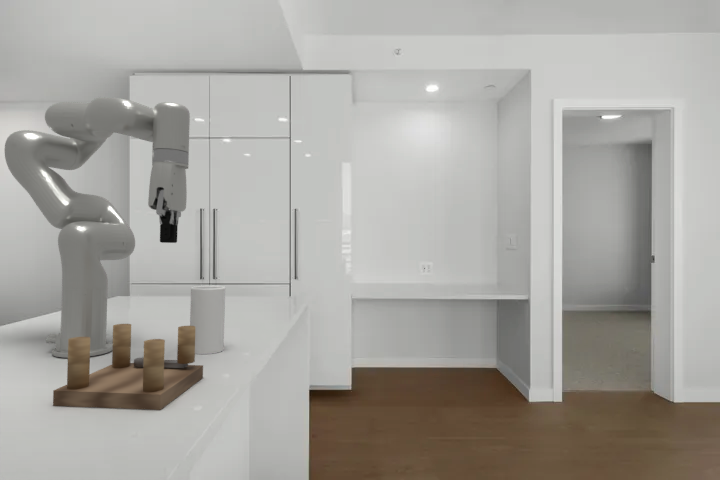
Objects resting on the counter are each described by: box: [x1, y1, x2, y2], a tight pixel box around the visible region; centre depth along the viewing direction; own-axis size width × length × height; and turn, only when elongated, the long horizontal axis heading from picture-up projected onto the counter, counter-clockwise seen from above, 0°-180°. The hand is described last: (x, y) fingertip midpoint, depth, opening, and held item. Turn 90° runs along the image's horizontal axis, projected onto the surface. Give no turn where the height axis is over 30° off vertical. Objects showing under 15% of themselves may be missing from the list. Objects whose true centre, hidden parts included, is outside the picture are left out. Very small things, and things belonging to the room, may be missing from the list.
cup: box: [189, 285, 226, 355], centre depth 116 cm, size 8×8×16 cm
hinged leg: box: [133, 325, 196, 368], centre depth 91 cm, size 12×3×8 cm, turn 88°
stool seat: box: [52, 323, 204, 411], centre depth 84 cm, size 18×18×11 cm
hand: (168, 242), depth 103 cm, fingers closed
